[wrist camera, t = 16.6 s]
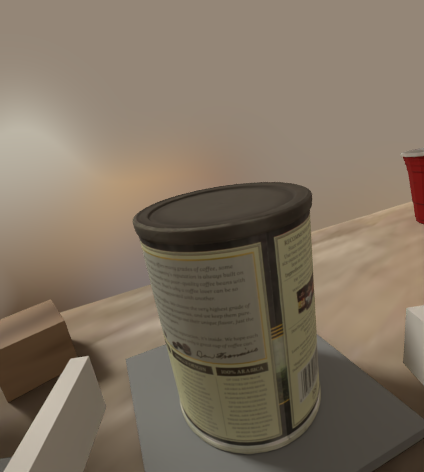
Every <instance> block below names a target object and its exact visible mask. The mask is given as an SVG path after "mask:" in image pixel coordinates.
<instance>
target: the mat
mask: <svg viewBox="0 0 424 472" xmlns="http://www.w3.org/2000/svg"><path fill="white" fill-rule="evenodd" d="M317 351H318V369H319V381H320V386H321V400H320V405H319V409H318V412H317V414H316V416H315V418H314V420H313V422H312V423H311V425H310V426H309V427H308V429H307V430H306V431H305V432H304V433H303V434H302V435H301V436H300V437H298V438H297V439H296V440H294V441H293V442H291V443H289V444H287V445H285V446H283V447H281V448H279V449H276V450H271V451H268V452H261V453H254V454H243V453H233V452H229V451H225V450H221V449H219V448H216V447H214V446H212V445H210V444H208V443H206V442H205V441H204V440H202V439H201V438H200V437H199V436H198V435H196V434H195V433H194V432H193V431H192V430H191V428H190V427H189V425H188V424H187V422H186V420H185V418H184V416H183V413H182V410H181V405H180V398H179V393H178V389H177V385H176V381H175V377H174V373H173V369H172V366H171V362H170V358H169V353H168V350H167V346H166V344H165V345H163V346H160V347H157V348H155V349H152V350H149V351H146V352H144V353H141V354H138V355H136V356H133V357H130V358H128V359H126V364H127V369H128V375H129V381H130V387H131V393H132V399H133V405H134V411H135V416H136V422H137V428H138V434H139V440H140V446H141V452H142V457H143V463H144V469H145V472H372V471H374V470H375V469H377V468H378V467H380V466H381V465H383V464H384V463H386V462H387V461H389V460H391V459H392V458H394V457H395V456H397V455H398V454H400V453H401V452H403V451H404V450H406V449H408V448H409V447H411V446H412V445H414V444H415V443H417V442H418V441H420V440H421V439H423V438H424V419H423V418H422V417H421V416H419V415H418V414H417V413H416V412H414V411H413V410H412V409H411V408H409V407H408V406H407V405H406V404H404V403H403V402H402V401H401V400H399V399H398V398H397V397H395V396H394V395H393V394H392V393H390V392H389V391H388V390H387V389H385V388H384V387H383V386H382V385H380V384H379V383H378V382H377V381H375V380H374V379H373V378H371V377H370V376H369V375H368V374H366V373H365V372H364V371H363V370H361V369H360V368H359V367H358V366H356V365H355V364H354V363H353V362H351V361H350V360H349V359H347V358H346V357H345V356H344V355H342V354H341V353H340V352H339V351H337V350H336V349H335V348H334V347H332V346H331V345H330V344H329V343H327V342H326V341H325V340H324V339H322V338H321V337H320V336H318V335H317Z"/></svg>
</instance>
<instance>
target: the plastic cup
mask: <svg viewBox="0 0 424 472" xmlns="http://www.w3.org/2000/svg"><path fill="white" fill-rule="evenodd" d="M400 155H401V156H402V157H403V159H404V161H405V164H406V166H407V171H408V174H409V181H410V188H411V194H412V201H413V203H414V211H415V217H416V221H418V222H419V223H422V224H424V148H421V149H415V150H410V151H406V152H403V153H401V154H400Z"/></svg>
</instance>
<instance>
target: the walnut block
mask: <svg viewBox="0 0 424 472" xmlns="http://www.w3.org/2000/svg"><path fill="white" fill-rule="evenodd" d="M72 358H78V357H77V354H76V351H75V348H74V346H73V343H72V340H71V337H70V335H69V332H68V329H67V326H66V323H65V321H64V319H63V318H62V316H61V314H60V313H59V311H58V310H57V308H56V307H55V305H54V304H53V302H52V301H51V300H48V301H45V302H43V303H40V304H38V305H35V306H33V307H30V308H28V309H25V310H23V311H20V312H18V313H16V314H13V315H11V316H8V317H6V318H3V319H1V320H0V387H1V389H2V391H3V393H4V395H5V397H6V399H7V401H8V402H10V401H12V400H14V399H16V398H18V397H19V396H21V395H23V394H25V393H27V392H29V391H30V390H32V389H34V388H36V387H38V386H40V385H42V384H43V383H45V382H47V381H49V380H51V379H53V378H54V377H56V376H58V375H60V374H62V372H63V371H64V369H65V367H66V365H67V364H68V362H69V360H70V359H72Z"/></svg>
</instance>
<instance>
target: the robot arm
mask: <svg viewBox="0 0 424 472" xmlns="http://www.w3.org/2000/svg"><path fill="white" fill-rule="evenodd" d="M403 363H404V364H405V365H406V366H407V368H408V369H409V370H410V371H411V372H412V373H413V374H414V375H415V376H416V378H417V379H418V380H419V381H420V382H421V383H422V384H423V385H424V305H423V306H416V307H410V308H406V324H405V341H404V358H403ZM105 409H106V404H105V401H104V399H103V396H102V393H101V390H100V387H99V384H98V381H97V378H96V375H95V373H94V370H93V367H92V364H91V361H90V358H89V356H85V357H78V358H72V359H70V360H69V362H68V364H67V365H66V367H65V369H64V371H63V372H62V374H61V376H60V377H59V379H58V381H57V382H56V384H55V386H54V387H53V389H52V391H51V392H50V394H49V396H48V398H47V399H46V401H45V403H44V404H43V406H42V408H41V409H40V411H39V413H38V414H37V416H36V418H35V419H34V421H33V423H32V424H31V426H30V428H29V430H28V431H27V433H26V435H25V436H24V438H23V440H22V441H21V443H20V445H19V446H18V448H17V450H16V451H15V453H14V455H13V457H9V458H2V459H0V472H83V471H84V468H85V465H86V463H87V460H88V457H89V454H90V451H91V448H92V446H93V443H94V440H95V437H96V434H97V431H98V429H99V426H100V423H101V420H102V417H103V415H104V412H105Z"/></svg>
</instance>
